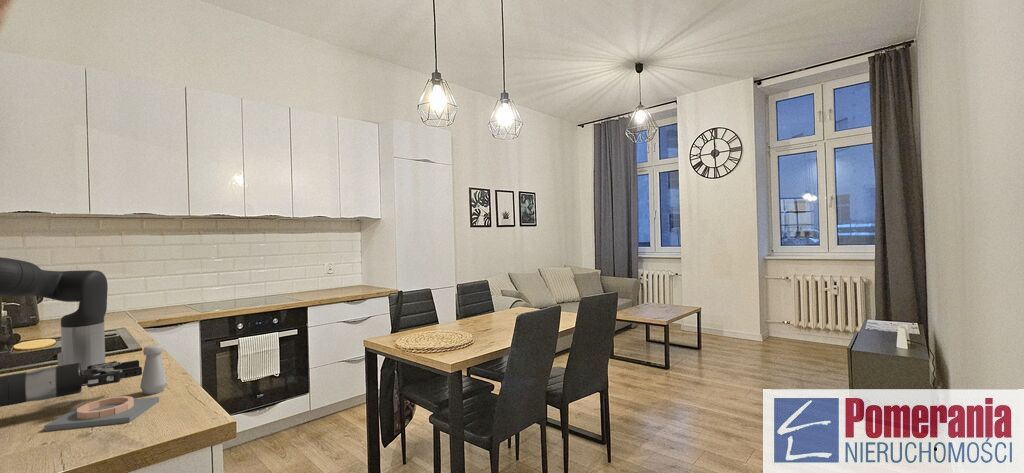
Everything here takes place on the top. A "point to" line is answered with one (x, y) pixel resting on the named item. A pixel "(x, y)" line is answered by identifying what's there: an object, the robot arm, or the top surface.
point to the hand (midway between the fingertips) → (140, 367)
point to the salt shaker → (153, 370)
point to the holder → (103, 413)
